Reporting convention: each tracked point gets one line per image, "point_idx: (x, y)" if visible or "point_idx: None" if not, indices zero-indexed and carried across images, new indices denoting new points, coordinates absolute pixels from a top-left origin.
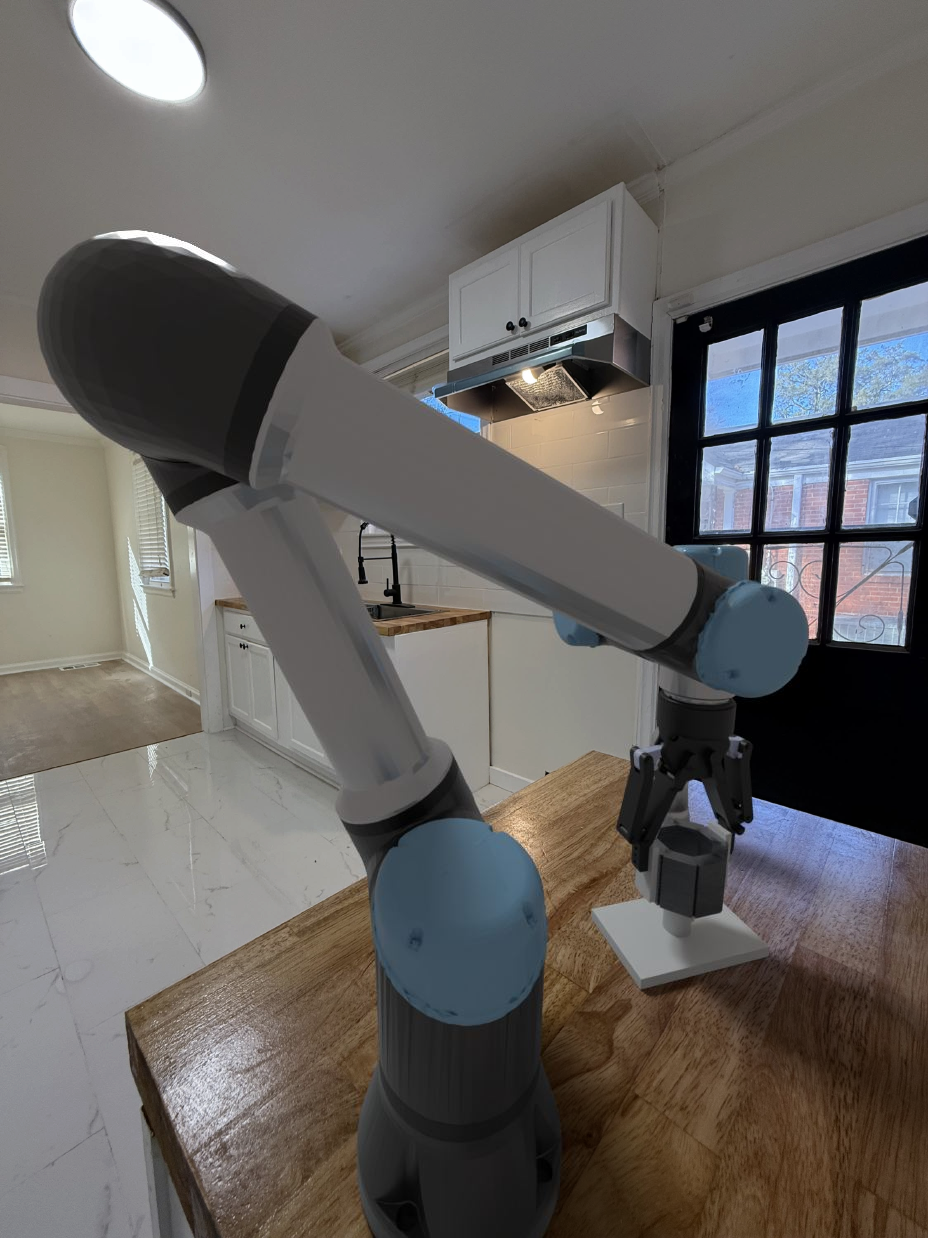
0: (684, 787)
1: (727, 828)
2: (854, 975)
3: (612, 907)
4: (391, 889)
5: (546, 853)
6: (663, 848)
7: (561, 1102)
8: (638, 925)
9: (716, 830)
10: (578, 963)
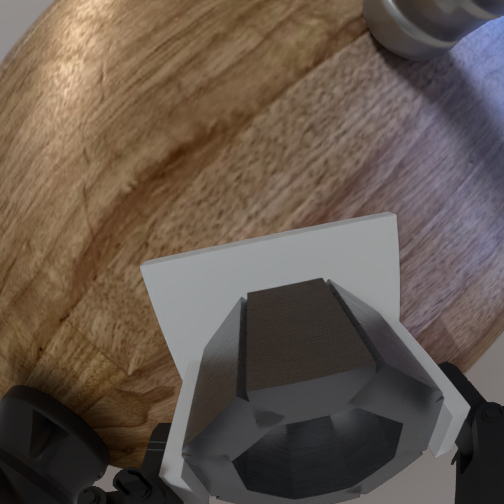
0: (490, 19)
1: (458, 444)
2: (450, 353)
3: (179, 265)
4: None
5: (107, 75)
6: (231, 486)
7: (106, 434)
8: (215, 309)
9: (440, 432)
10: (117, 339)
